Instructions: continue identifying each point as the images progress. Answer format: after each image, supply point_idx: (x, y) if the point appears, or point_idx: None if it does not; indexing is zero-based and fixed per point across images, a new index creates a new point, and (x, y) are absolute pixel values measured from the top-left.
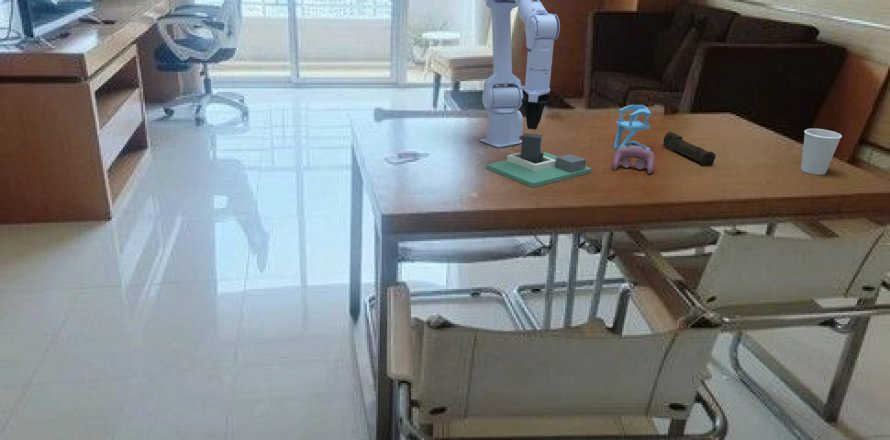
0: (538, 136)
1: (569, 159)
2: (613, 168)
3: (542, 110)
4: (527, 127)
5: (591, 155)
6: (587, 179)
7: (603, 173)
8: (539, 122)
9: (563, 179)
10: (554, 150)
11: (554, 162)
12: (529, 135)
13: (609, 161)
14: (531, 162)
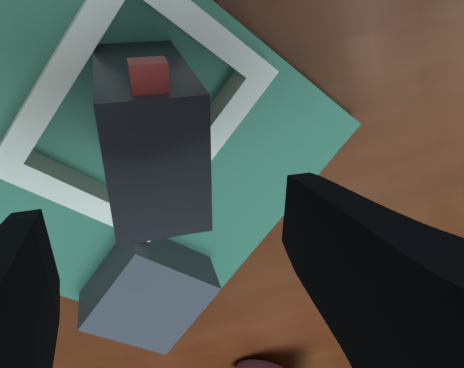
0: (154, 220)
1: (127, 309)
2: (236, 366)
3: (343, 347)
4: (7, 218)
5: None
6: (84, 332)
7: (186, 350)
8: (285, 246)
9: None
10: (433, 142)
11: None
12: (149, 155)
13: (328, 329)
14: (35, 138)
